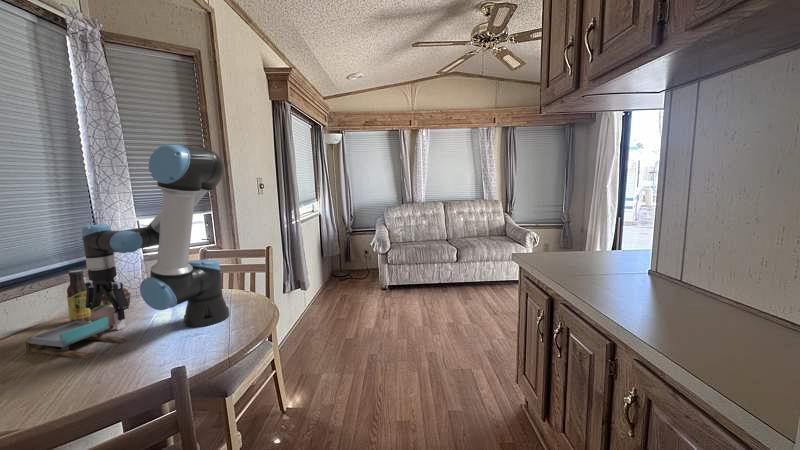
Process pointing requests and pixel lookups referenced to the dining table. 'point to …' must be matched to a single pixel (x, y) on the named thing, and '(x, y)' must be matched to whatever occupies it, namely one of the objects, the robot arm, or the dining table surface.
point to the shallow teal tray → (70, 333)
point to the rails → (86, 355)
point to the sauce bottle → (77, 297)
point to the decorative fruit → (103, 313)
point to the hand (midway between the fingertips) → (110, 327)
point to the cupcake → (105, 298)
